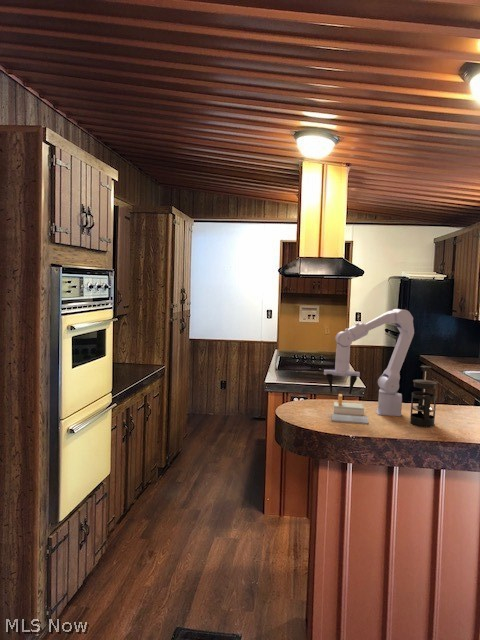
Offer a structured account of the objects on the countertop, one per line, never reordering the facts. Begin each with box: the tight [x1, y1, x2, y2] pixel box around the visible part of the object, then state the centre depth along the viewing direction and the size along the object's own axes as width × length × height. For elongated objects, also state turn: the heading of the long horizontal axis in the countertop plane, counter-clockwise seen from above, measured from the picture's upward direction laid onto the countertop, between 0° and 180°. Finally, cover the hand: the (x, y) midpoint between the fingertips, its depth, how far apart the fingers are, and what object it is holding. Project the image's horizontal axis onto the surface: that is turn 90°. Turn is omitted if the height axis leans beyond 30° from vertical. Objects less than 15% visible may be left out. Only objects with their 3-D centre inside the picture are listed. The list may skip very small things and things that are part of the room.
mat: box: [330, 413, 370, 425], centre depth 213 cm, size 14×10×1 cm
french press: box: [409, 365, 438, 428], centre depth 209 cm, size 12×9×23 cm
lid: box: [333, 393, 365, 411], centre depth 223 cm, size 12×8×6 cm, turn 81°
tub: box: [332, 405, 365, 416], centre depth 223 cm, size 12×8×2 cm, turn 81°
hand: (340, 392), depth 223 cm, fingers open, 7 cm apart
